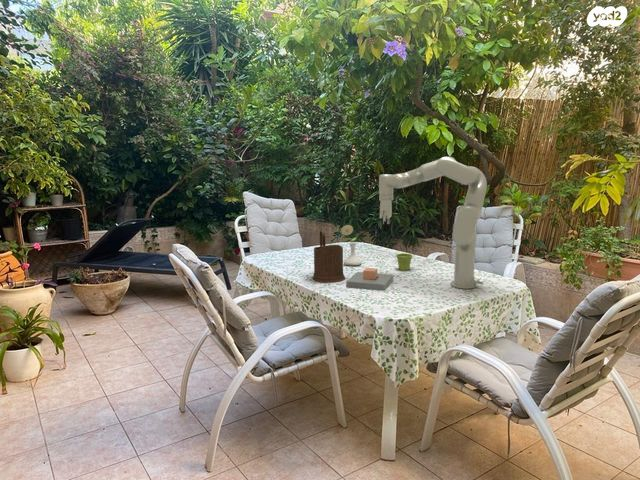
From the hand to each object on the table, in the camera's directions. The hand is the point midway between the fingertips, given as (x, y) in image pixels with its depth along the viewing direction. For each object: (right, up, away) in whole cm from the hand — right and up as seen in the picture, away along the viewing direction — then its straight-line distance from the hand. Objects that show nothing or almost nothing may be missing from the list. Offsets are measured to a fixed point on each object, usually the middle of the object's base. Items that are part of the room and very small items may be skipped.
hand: (386, 231), depth 241 cm
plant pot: (+13, -22, +20) cm, 33 cm away
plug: (-10, -27, -8) cm, 30 cm away
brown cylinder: (-32, -26, +6) cm, 41 cm away
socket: (-10, -28, -8) cm, 30 cm away
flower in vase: (-16, -20, +34) cm, 43 cm away
